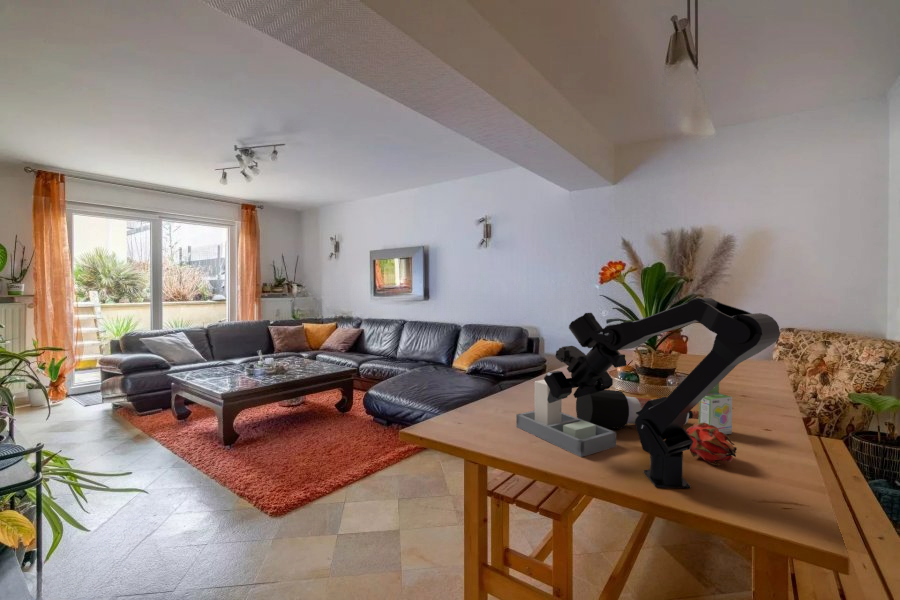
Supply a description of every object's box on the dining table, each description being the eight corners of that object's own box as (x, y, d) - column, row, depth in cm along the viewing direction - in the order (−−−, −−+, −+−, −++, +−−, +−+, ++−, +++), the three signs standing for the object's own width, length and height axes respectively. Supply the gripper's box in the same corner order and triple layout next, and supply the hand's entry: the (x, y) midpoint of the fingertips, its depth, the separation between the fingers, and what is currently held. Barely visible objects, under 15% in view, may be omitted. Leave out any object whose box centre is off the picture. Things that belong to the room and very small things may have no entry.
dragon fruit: (688, 453, 97) (732, 484, 86) (666, 436, 95) (707, 466, 84) (710, 425, 97) (756, 452, 86) (688, 408, 95) (733, 433, 83)
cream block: (561, 426, 109) (561, 382, 109) (547, 430, 107) (547, 385, 106) (548, 421, 113) (548, 379, 113) (534, 424, 111) (534, 381, 110)
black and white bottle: (701, 442, 112) (718, 415, 108) (584, 434, 109) (596, 406, 104) (681, 415, 121) (696, 389, 116) (572, 407, 118) (583, 380, 113)
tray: (616, 446, 98) (616, 428, 98) (580, 457, 92) (581, 437, 92) (548, 419, 118) (548, 404, 118) (516, 426, 112) (516, 410, 112)
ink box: (711, 437, 104) (711, 385, 103) (697, 431, 108) (698, 381, 107) (732, 434, 106) (733, 383, 105) (718, 429, 109) (719, 379, 109)
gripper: (603, 333, 105) (571, 369, 115) (549, 339, 95) (519, 377, 105) (630, 369, 98) (593, 403, 108) (574, 378, 89) (540, 415, 99)
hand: (561, 398), depth 105 cm, fingers open, 9 cm apart
